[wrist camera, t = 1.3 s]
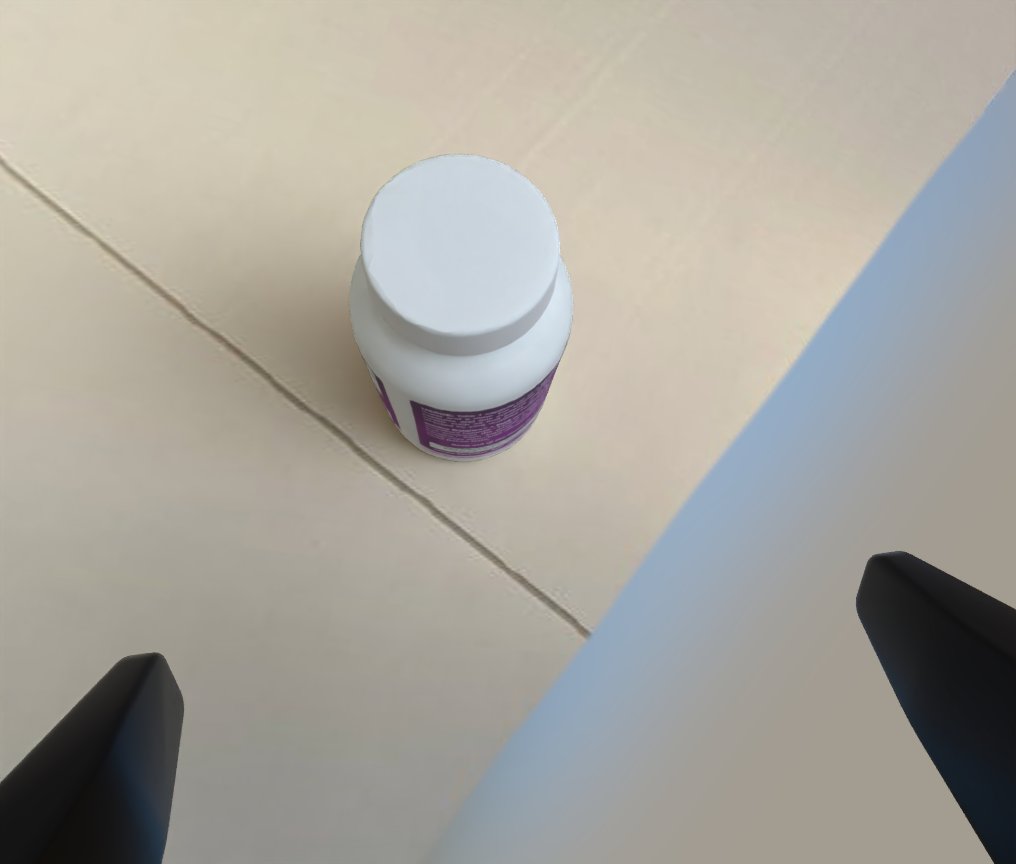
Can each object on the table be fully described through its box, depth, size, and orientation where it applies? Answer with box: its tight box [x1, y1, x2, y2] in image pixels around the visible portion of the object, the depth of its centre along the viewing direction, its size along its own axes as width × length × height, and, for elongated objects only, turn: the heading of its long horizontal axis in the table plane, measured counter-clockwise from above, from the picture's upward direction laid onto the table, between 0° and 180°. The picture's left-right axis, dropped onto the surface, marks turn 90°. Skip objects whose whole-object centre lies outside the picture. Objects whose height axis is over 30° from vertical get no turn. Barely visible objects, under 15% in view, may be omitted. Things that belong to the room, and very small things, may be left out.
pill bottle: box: [349, 154, 573, 462], centre depth 18 cm, size 5×5×10 cm
